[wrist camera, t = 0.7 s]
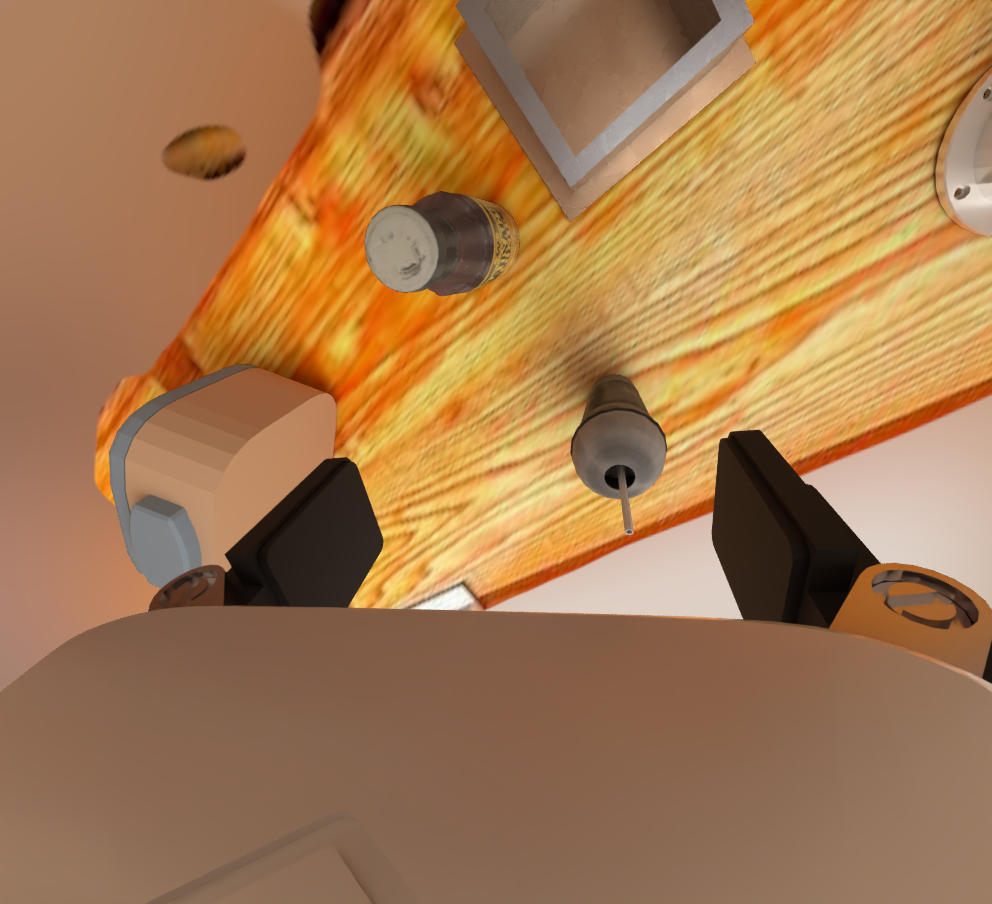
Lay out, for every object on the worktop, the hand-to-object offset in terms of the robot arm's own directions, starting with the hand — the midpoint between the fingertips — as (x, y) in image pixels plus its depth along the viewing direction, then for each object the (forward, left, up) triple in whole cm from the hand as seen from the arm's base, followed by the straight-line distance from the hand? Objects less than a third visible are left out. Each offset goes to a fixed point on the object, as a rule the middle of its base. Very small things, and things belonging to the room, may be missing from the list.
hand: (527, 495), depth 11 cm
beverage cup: (+3, +11, -33) cm, 35 cm away
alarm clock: (+37, -6, -33) cm, 50 cm away
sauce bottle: (+4, -8, -33) cm, 34 cm away
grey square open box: (-10, -12, -33) cm, 36 cm away
